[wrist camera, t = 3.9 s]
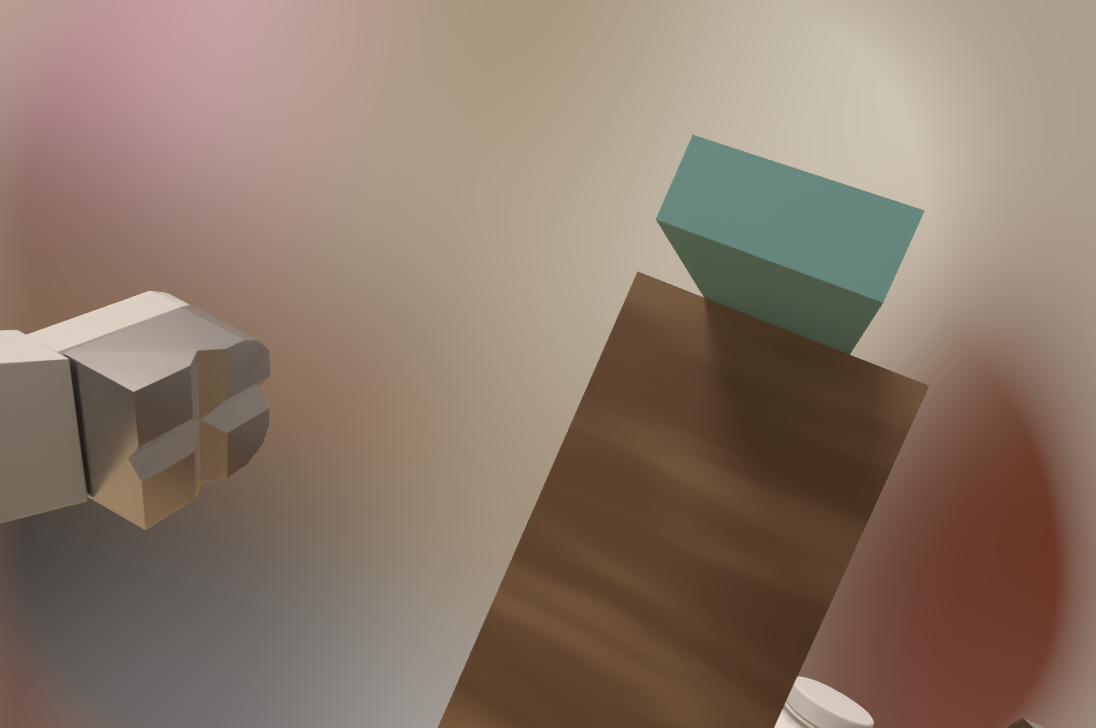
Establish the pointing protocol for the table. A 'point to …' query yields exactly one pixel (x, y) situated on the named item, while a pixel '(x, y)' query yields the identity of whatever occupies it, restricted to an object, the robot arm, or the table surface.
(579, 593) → the walnut shelf
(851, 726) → the pill bottle
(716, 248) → the lid slat
